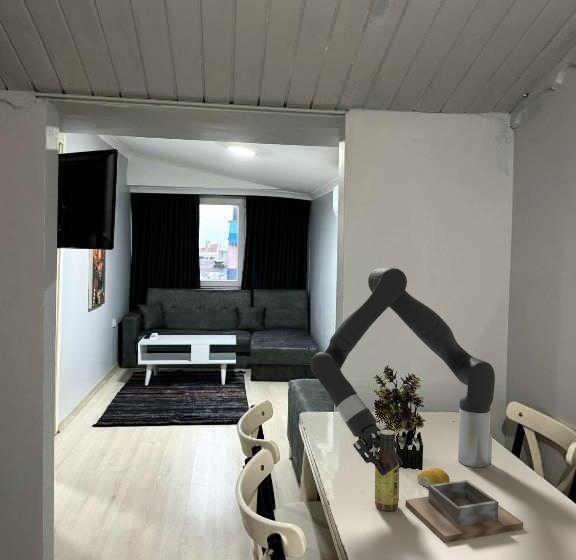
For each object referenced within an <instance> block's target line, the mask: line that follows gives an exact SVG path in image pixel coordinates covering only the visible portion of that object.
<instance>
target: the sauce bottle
mask: <svg viewBox="0 0 576 560" xmlns="http://www.w3.org/2000/svg"><path fill="white" fill-rule="evenodd" d="M380 430H381V431H380V449H378V454H379V457H380V458H379V459H381V460H382V461H383V463H384V464H385V466H386V467H387V469H388V471H389V472H388V473H387V474H385V475H384V476H382V475H381V474H380V473H379V471H378V470H377V468H376V467H375V466H374V504H375V505H374V506H375V507H376V508H377V509H379V510H380V511H381V510H382V511H384V512H385V511H386V512H393V511H395V510H397V509H398V507H399V500H400V498H399V497H400V466H399V460H398V457H397V454H398V453H397V452H396V450H395V446H394V444H395V441H396V431H393V430H391V429H388V430H382V429H380ZM396 453H397V454H396Z"/></svg>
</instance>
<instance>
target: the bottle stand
mask: <svg viewBox="0 0 576 560" xmlns="http://www.w3.org/2000/svg"><path fill="white" fill-rule="evenodd" d="M405 506H406V507H407V508H408V509H409V511H411V512H412V513H413V514H414V515H415V516H416V517H417V518H418V519H419V520H420V521H421V522H422V523H424V524H423V525H425V526H426V527H427V528H428V529H430V530H431V532H433V534H435V535H436V536H437V537H438V538H439V539H440V540H441V541H442V542H443V543H449V542H450V543H451V542H454V541H455V542H456V541H461V540H467V539H472V538H478V537H482V536H490V535H495V534H500V533H506V532H510V531H518V530H523V529H524V521H522V520H521V519H519V518H518V517H516V516H515V515H513V514H511V512H509V511H508V510H507V509H505V508H503V506H501V505H500V504H499V501H498V500H496V499H494V498H493V497H492V496H491V495H489V494H488V493H486V492H485V491H483V490H482V489H481V488H479V487H477V486H476V485H475V484H473V482H470V481H469V480H468V479H464V480H457V481H450V482H449V483H442V484H435V485H429V488H428V496H422V497H416V498H408V499H405Z"/></svg>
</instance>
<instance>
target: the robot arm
mask: <svg viewBox="0 0 576 560" xmlns="http://www.w3.org/2000/svg"><path fill="white" fill-rule="evenodd" d="M367 284H368V287H369V290H370V291H371V295H370V296H368V298H367V299H366V300H365V301H364V302H363V304H362V305H360V306H359V307H358V308H357V309H355V310H354V311H353V312H352V313H351V314H350V315H348V317H347V318H346V319H344V321H342V323H341V324H340V325H339V327H338V328H337V329H336V331H335V332H334V333H333V334H332V336H331V337H330V340H329V345H328V347H327V348H326V350H325V351H320V352H316V353H315V354H314V355H313V356H312V357H311V359H310V366H309V367H310V370H311V371H312V373H313V374H314V376H315V377H316V379H317V380H318V381H319V383H320V384H321V385H322V387H323V388H324V389H325V391H326V392H327V394H328V396H329V398H330V400H331V402H332V403H333V405H334V406H335V408H336V410H337V411H338V414H339V415H340V417H341V419H342V420H343V421H344V423H345V425H346V426H347V428H348V429H349V431H350V432H351V433H352V435H353V437H355V438H357V440H356V441H355V442H354V443H353V444H352V446H353V447H354V449H355V450H356V452H357V453H358V454H359V455H360V457H361V458H362V459H363V461H364V462H365V463H366V464H369V463H371V464H373V465H374V468H375V467H376V468H377V470H378V471H379V473H380V474H381V475H382V476H384V475H385V474H387V473H388V472H389V471H388V469H387V467H386V466H385V464H384V463H383V461H382V460H381V459H379V458H380V457H379V454H378V451H379V450H380V431H381V430H389V428H388V427H387V426H385V427H384V428H382V429H380V427H378V426H377V423H378V420H377V419H376V417H375V415H374V414H373V413H372V410H370V409H369V407H368V406H367V404H366V403H365V401H364V400H363V399H362V398H361V396H360V395H359V394H358V392H357V391H356V389H355V388H354V386H353V385H352V384H351V383H350V381H349V380H348V379H347V378H346V377H345V375H344V373H343V371H342V370H341V369H342V366H343V365H344V363H345V362H346V360H347V358H348V356H349V355H350V353H351V352H352V350H354V348H355V347H356V346H357V345H358V343H359V341H361V339H362V338H363V337H364V335H365V334H366V333H367V331H368V330H369V329H370V328H371V326H372V325H373V324H374V323H375V322H376V321H377V320H378V318H379V317H380V316H381V315H383V313H384V312H385V311H387V309H388V308H389V309H391V310H392V311H393V312H394V313H395V314H396V315H397V316H398V317H399V318H400V319H401V321H402V322H403V323H404V324H405V325H406V326H407V327H408V328H409V329H410V330H411V331H412V333H414V334H415V336H416V337H417V338H418V339H419V340H420V341H421V342H423V344H424V345H426V347H427V348H429V350H431V351H432V352H433V353H434V354H435V355H436V356H438V357H439V358H440V359H441V360H442V361H443V362H444V363H445V365H446V366H447V367H448V369H450V371H451V372H452V373H453V374H454V376H455V377H456V378H457V379H458V381H459V382H460V383H462V384H463V385H465V386H467V388H466V389H467V392H466V396H463V397H461V398H460V399H459V409H458V410H459V414H458V416H459V417H458V418H459V419H458V444H457V445H458V446H457V449H458V451H457V460H458V462H459V463H460V464H463V465H465V466H467V467H471V468H486V467H487V466H489V465H490V464H492V457H493V456H492V454H493V453H492V452H493V450H492V449H493V448H492V447H493V434H492V433H491V432H490V431H491V430H490V427H491V406H492V403H493V402H494V396H495V386H496V385H495V382H496V374H495V369H494V367H493V365H491V363H489V361H488V362H487V361H485V360H483V359H480V358H477V357H475V356H472V355H471V354H470V353H469V352H468V351H466V350H465V349H464V348H463V347H462V346H461V345H460V344H459V343H458V342H457V340H456V337H455V335H454V333H453V330H452V328H451V327H450V326H449V325H448V323H447V322H446V321H445V320H444V319H443V318H442V317H441V316H440V315H439V314H438V313H437V312H436V311H434V310H433V309H432V308H430V307H429V306H428V305H426V304H424V303H423V302H421V301H420V300H418V299H417V298H415V297H413V296H412V295H411V294H410V293H409V292H408V291H407V290H406V289H407V286H408V280H407V276H406V274H405V272H403V271H402V270H401V269H399V268H395V267H379V268H376V269H373V271H371V272H370V273H369V275H368V279H367ZM394 446H395V451H396V449H397V447H398V446H399V445H398V443H397V442H396V440H395V444H394ZM396 454H397V457H398V460H399V467H401V466H403V461H402V459H401V457H400V456H399V454H398V453H397V452H396Z"/></svg>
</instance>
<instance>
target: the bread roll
mask: <svg viewBox="0 0 576 560" xmlns="http://www.w3.org/2000/svg"><path fill="white" fill-rule="evenodd" d="M416 479H417V481H418V483H419V484H420V485H422V486H423V487H425V488H428V489H429V485H435V484H442V483H449V482H451V480H450V476H449V474H448V473H447V472H446V470H443V469H442V468H438V467H433V468H427V469H424V470H421V471H419V472H418V473H417V478H416Z"/></svg>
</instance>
